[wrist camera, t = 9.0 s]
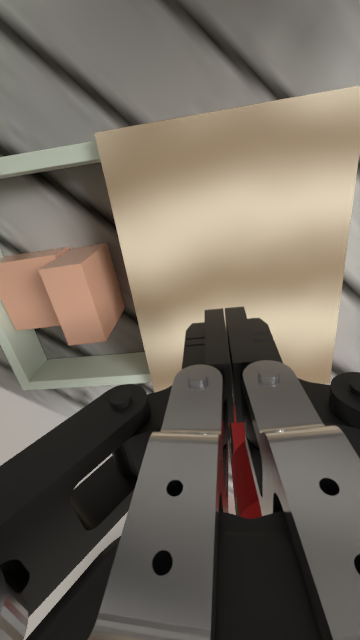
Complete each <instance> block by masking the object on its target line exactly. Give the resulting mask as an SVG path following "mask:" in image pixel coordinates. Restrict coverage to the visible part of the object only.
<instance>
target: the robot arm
mask: <svg viewBox="0 0 360 640" xmlns="http://www.w3.org/2000/svg"><path fill="white" fill-rule="evenodd" d="M225 321H226V326H225ZM232 391H233V394H232ZM233 399H234V407H235V414H236V422H237V423H241V422H244V428H245V441H246V448H247V452H248V457H249V461H250V465H251V469H252V473H253V478H254V482H255V486H256V490H257V494H258V498H259V503H260V508H261V513H262V517H258V518H254V519H248V518H244V517H240V516H236V515H233V514H229V513H228V439H229V423H234V409H233ZM111 453H112V455H113V456H112V457H110V458H109V459H108V460H107V461H106V462H105V463H104V464H102V465H101V466H100V467H99V468H98V469H97V470H96V471H94V472H93V473H92V474H91V475H90V476H89V477H88V478H86V479H85V480H84V481H83V482H82V483H81V484H80V485H79V486H77V488H75V486H76V485H77V484H78V482H79V481H81V480H82V479H83V478H84V477H85V476H86V475H87V474H89V473H90V472H91V471H92V470H93V469H94V468H96V467H97V466H98V465H99V464H100V463H101V462H102V461H104V460H105V459H106V458H107V457H108V456H109V455H110V454H111ZM74 488H75V489H74ZM73 489H74V490H73ZM127 512H128V514H127V517H126V521H125V524H124V528H123V531H122V535H121V536H120V537H119V538H117V539H116V540H115V541H113V542H112V543H111V544H110V545H109V546H108V547H107V548H105V549H104V551H102V552H101V553H100V554H99V555H98V557H97V558H96V559H95V560H94V561H93V562H92V563H91V564H90V566H89V567H88V568H87V569H86V570H85V571H84V573H83V574H82V575H81V576H80V578H78V580H77V581H76V582H75V583H74V584H73V585H72V586H71V588H70V589H69V590H68V591H67V592H66V593H65V595H64V596H63V597H62V598H61V599H60V600H59V602H58V603H57V604H56V605H55V606H54V607H53V609H52V610H51V611H50V612H49V613H48V614H47V615H46V617H45V618H44V619H43V620H42V621H41V623H40V624H39V625H38V626H37V627H36V628H35V630H34V631H33V632H32V633H31V634H30V635H29V636H28V638H27V639H26V640H360V373H359V372H347V373H342V374H339V375H337V376H336V377H334V378H333V380H332V381H331V385H325V384H318V383H313V382H308V381H304V380H302V379H299V378H297V376H296V375H295V373H294V371H293V370H292V369H291V368H290V367H288V366H287V365H285V364H283V361H282V359H281V356H280V354H279V351H278V349H277V346H276V344H275V341H274V340H273V336H272V334H271V331H270V329H269V326H268V324H267V323H266V322H264V321H263V320H262V319H260V318H249V319H247V316H246V312H245V309H244V306H242V307H231V308H225V318H224V311H223V308H220V309H209V310H205V322H202V323H192V324H191V325H190V326H189V327H188V329H187V330H186V334H185V343H184V352H183V361H182V370H181V371H179V372H178V373H177V374H176V376H175V378H174V381H173V385H172V386H170V387H168V388H166V389H164V390H161V391H158V392H155V393H151V394H148V395H147V394H146V391H145V390H144V389H143V388H142V387H140V386H138V385H134V384H125V385H120V386H117V387H114V388H112V389H110V390H108V391H107V392H105V393H104V394H103V395H101V396H100V397H98V398H97V399H95V400H94V401H93V402H91V403H90V404H88V405H87V406H85V407H84V408H83V409H81V410H80V411H78V412H77V413H75V414H74V415H73V416H71V417H70V418H68V419H67V420H66V421H64V422H63V423H61V424H60V425H58V426H57V427H55V428H54V429H53V430H51V431H50V432H48V433H47V434H46V435H44V436H43V437H41V438H40V439H38V440H37V441H35V442H34V443H33V444H31V445H30V446H28V447H27V448H26V449H24V450H23V451H21V452H20V453H18V454H17V455H16V456H14V457H13V458H11V459H10V460H8V461H7V462H5V463H4V464H3V465H1V466H0V640H23V639H24V636H25V633H26V629H27V623H28V617H29V616H30V615H31V614H32V613H33V612H34V611H35V610H36V609H37V608H38V606H40V605H41V603H42V602H43V601H44V600H45V599H46V598H47V597H48V596H49V595H50V594H51V593H52V592H53V591H54V589H56V587H57V586H58V585H59V584H60V583H61V582H62V581H63V580H64V579H65V578H66V577H67V575H69V574H70V572H71V571H72V570H73V569H74V568H75V567H76V566H77V565H78V564H79V563H80V562H81V561H82V559H84V557H85V556H86V555H87V554H88V553H89V552H90V551H91V550H92V549H93V548H94V547H95V546H96V545H97V544H98V542H100V540H101V539H102V538H103V537H104V536H105V535H106V534H107V533H108V532H109V531H110V530H111V529H112V528H113V527H114V525H115V524H116V523H117V522H118V521H119V520H120V519H121V518H122V517H123V516H124V515H125V514H126V513H127Z"/></svg>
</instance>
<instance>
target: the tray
mask: <svg viewBox="0 0 360 640" xmlns="http://www.w3.org/2000/svg"><path fill="white" fill-rule="evenodd" d="M100 162H101V160H100V155H99V151H98V147H97V142H96V141H91V142H85V143H79V144H73V145H68V146H62V147H56V148H50V149H45V150H39V151H33V152H28V153H22V154H16V155H10V156H5V157H0V179H2V178H8V177H15V176H21V175H27V174H33V173H39V172H45V171H51V170H57V169H63V168H69V167H75V166H82V165H88V164H94V163H100ZM2 257H3V255H2V252H1V250H0V258H2ZM0 345H1V347H2V349H3V351H4V353H5V355H6V357H7V359H8V361H9V363H10V365H11V367H12V369H13V371H14V373H15V375H16V377H17V379H18V381H19V383H20V385H21V387H22V389H23V391H26V390H42V389H57V388H73V387H88V386H104V385H119V384H135V383H151V382H152V380H151V376H150V371H149V367H148V363H147V358H146V354H145V352H137V353H124V354H112V355H99V356H86V357H73V358H60V359H47V358H46V356H45V354H44V351H43V349H42V346H41V344H40V342H39V339H38V337H37V335H36V332H35V330H34V329H26V330H18V331H16V330H15V328H14V326H13V324H12V322H11V319H10V317H9V315H8V313H7V311H6V309H5V307H4V305H3V303H2V301H1V299H0Z"/></svg>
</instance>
